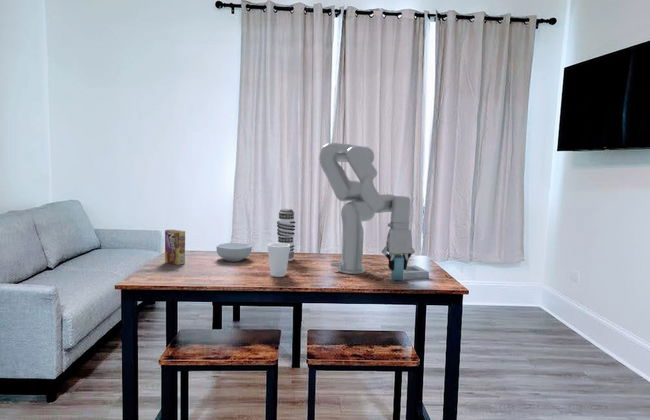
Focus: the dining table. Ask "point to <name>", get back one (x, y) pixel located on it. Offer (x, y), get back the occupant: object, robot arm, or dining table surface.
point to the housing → (415, 273)
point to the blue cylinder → (398, 268)
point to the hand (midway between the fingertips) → (397, 268)
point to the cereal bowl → (234, 251)
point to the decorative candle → (286, 229)
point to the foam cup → (278, 258)
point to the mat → (396, 281)
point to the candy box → (175, 247)
